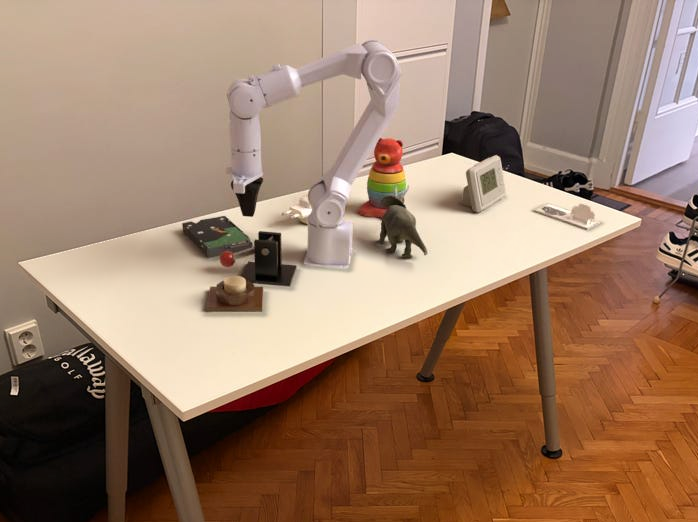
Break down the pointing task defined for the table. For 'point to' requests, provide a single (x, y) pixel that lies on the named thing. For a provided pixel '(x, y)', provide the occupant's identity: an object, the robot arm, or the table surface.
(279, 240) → the switch bracket
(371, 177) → the stacking bear
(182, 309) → the table surface
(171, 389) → the table surface
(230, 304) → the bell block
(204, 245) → the disk drive
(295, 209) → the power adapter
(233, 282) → the button
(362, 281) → the table surface
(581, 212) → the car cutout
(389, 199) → the toy dinosaur
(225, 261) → the lever
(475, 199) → the digital clock
